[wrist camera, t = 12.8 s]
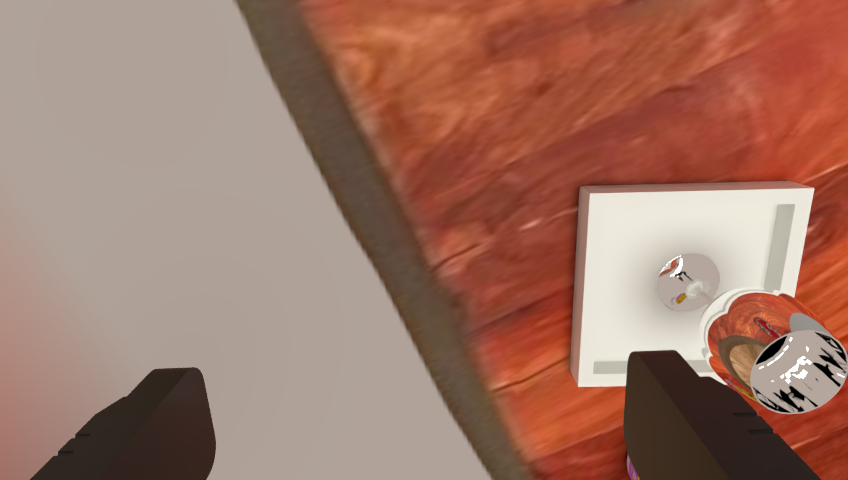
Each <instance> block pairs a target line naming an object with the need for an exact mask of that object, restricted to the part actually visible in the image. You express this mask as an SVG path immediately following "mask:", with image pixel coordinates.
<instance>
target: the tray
mask: <svg viewBox="0 0 848 480" xmlns="http://www.w3.org/2000/svg"><path fill="white" fill-rule="evenodd" d="M813 193H814V188H812V187H809V186H805V185H802V184H798V183H795V182H792V181H761V182H720V183H679V184H638V185H598V186H580V190H579V207H578V225H577V243H576V261H575V279H574V297H573V315H572V333H571V350H570V368H569V369H570V371H571V373H572V375H573V377H574V379H575V382H576V384H577V386H578V387H598V386H626V377H627V363H628V358H629V355H630V353H631V352H633V351H656V350H676V351H677V352H678V353H679V354H680V355H681V356H682V357H683V358H684V359H685V360H686V362H687V363H688V364H689V365H690V366H691V367H692V368H693V370H694V371H695V372H696V373H697V374H698V375H699V376H700V377H704V376H710V377H712V378H714V379H715V380H717V381H719V382H721V383H722V384H724V385H728V384H726V383H725V382H724V381H723V380H722V379H721V378H720V377H719V376H717V375H716V374H715V372H714V371H713V370H712V369H711V368H710V366H709V365H708V363H707V362H706V360H705V359H704V357H703V355H702V353H701V351H700V348H699V345H698V340H697V328H698V323H699V320H700V318H701V315H702V313H703V311H704V310H705V308H706V307H707V306H708V304H706V305H705V306H703V307H702V308H700V309H697V310H695V311H690V312H678V311H674V310H671V309H669V308H667V307H666V306H664V305H663V304H662V303H661V302H660V300H659V298H658V297H657V294H656V289H655V283H656V278H657V275H658V273H659V271H660V269H661V268H662V267H663V265H664V264H665V263H666V262H668V261H669V260H670V259H672V258H673V257H675V256H677V255H680V254H683V253H688V252H695V253H701V254H704V255H706V256H708V257H709V258H711V259H712V260H713V261H714V262H715V263H716V265H717V267H718V269H719V271H720V286H719V289H718V291H717V293H716V295H715V296H714V299H715V298H716V297H717V296H719V295H721V294H722V293H724V292H726V291H728V290H731V289H734V288H738V287H742V286H763V287H769V288H772V289H775V290H778V291H781V292H784V293H786V294H788V295H790V296H792V297H794V296H795V290H796V285H797V279H798V274H799V269H800V263H801V258H802V252H803V247H804V242H805V236H806V231H807V225H808V220H809V215H810V209H811V204H812V198H813Z"/></svg>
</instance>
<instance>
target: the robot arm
mask: <svg viewBox="0 0 848 480" xmlns="http://www.w3.org/2000/svg"><path fill="white" fill-rule="evenodd" d="M75 435H76V436H75V438H74V439H73V438H72V439H70V440H69V441H68V442H67V443H66V444H65V445H64V446H63V447H62V448H61V449H60V450H59V451H58V456H53V457H52V458H51V459H50V460H49V461H48V462H47V463H46V464H45V465H44V466H43V467H42V468H41V469H40V470H39V471H38V472H37V473H36V474H35V475H34V476H33V477H32V478H31V479H30V480H206V479H207V477H208V475H209V473H210V471H211V469H212V466H213V463H214V458H215V450H216V440H215V434H214V428H213V423H212V418H211V413H210V408H209V403H208V398H207V393H206V388H205V383H204V379H203V375H202V373H201V371H200V370H199V369H198V368H194V367H192V368H167V369H155V370H153V371H151V372H150V373H149V374H148V375H147V376H146V377H145V378H144V379H143V381H141V382H140V383H139V384H138V386H137V387H136V388H135V389H134V390H133V391H132V392H131V393H130V394H129V395H128V396H127V397H123V398H121V399H119V400H118V401H116V402H115V403H113V404H111V405H110V406H108V407H107V408H105V409H103V410H102V411H100V412H99V413H97V414H95V416H93V417H92V418H91V420H90V421H88V422H87V424H85V425H84V426H83V427H82V428H81V430H79V432H77V433H76V434H75ZM624 438H625V444H626V449H627V452H628V456H629V458H630V461H631V463H632V465H633V467H634V469H635V471H636V473H637V475H638V477H639V479H640V480H821V479H820V478H819V477H818V476H817V475H816V474H815V473H814V472H813V471H812V470H811V469H810V467H809V466H808V465H807V464H806V463H805V462H804V461H803V460H802V459H801V458H800V457H799V456H798V455H797V454H796V453H795V452H794V451H793V450H792V449H791V448H790V447H789V446H788V445H787V443H786V442H785V441H784V440H783V439H782V438H781V437H780V436H779V435H778V434H774V433H773V429H772V428H771V427H770V426H769V425H768V424H767V423H766V422H765V420H764V419H763V418H762V417H761V416H757V412H756V411H755V410H754V409H753V408H752V407H751V406H750V405H749V404H748V403H747V402H746V401H745V400H744V399H743V397H742V396H741V395H740V394H739V393H738V392H736V391H734V390H733V389H731V388H729V387H727V386H726V385H724V384H722V383H721V382H719V381H717V380H715V379H714V378H712V377H710V376H704V377H700V376H699V375H698V374H697V373H696V372H695V371H694V370H693V368H692V367H691V366H690V365H689V364H688V363H687V362H686V360H685V359H684V358H683V357H682V356H681V355H680V354H679V353H678V352H677V351H676V350H656V351H633V352H631V353H630V355H629V358H628V363H627V377H626V393H625V409H624Z"/></svg>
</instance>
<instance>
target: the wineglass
mask: <svg viewBox="0 0 848 480" xmlns="http://www.w3.org/2000/svg"><path fill="white" fill-rule="evenodd" d="M719 286H720V271H719V269H718V267H717V265H716V263H715V262H714V261H713V260H712V259H711V258H709V257H708V256H706V255H704V254H701V253H695V252H688V253H683V254H680V255H677V256H675V257H673V258H672V259H670V260H669V261H668V262H666V263H665V264H664V265H663V267H662V268H661V269H660V271H659V273H658V275H657V278H656V283H655V289H656V294H657V297H658V298H659V300H660V302H661V303H662V304H663V305H664V306H666V307H667V308H669V309H671V310H674V311H678V312H690V311H695V310H697V309H700V308H702V307H703V306H705V305H706V304H708V306H707V307H706V308H705V310H704V311H703V313H702V315H701V318H700V320H699V323H698V328H697V340H698V345H699V348H700V351H701V353H702V355H703V357H704V359H705V360H706V362H707V363H708V365H709V366H710V368H711V369H712V370H713V371H714V372H715V374H716V375H717V376H719V377H720V378H721V379H722V380H723V381H724V382H725V383H726V384H728V385H729V386H730V387H732V388H733V389H735V390H736V391H737V392H739V393H741V394H742V395H744V396H745V397H747V398H749V399H750V400H752V401H754V402H755V403H757V404H759V405H761V406H763V407H765V408H767V409H769V410H772V411H774V412H777V413H783V414H799V413H804V412H808V411H811V410H814V409H816V408H818V407H820V406H822V405H823V404H825V403H826V402H828V401H829V400H830V399H831V398H833V396H834V395H835V394H836V393H837V392H838V391H839V390H840V388H841V387H842V385H843V384H844V381H845V379H846V377H847V373H848V356H847V353H846V351H845V348H844V347H843V346H842V344H841V343H840V342H839V340H838V339H837V338H836V336H835V335H834V333H833V332H832V331H831V330H830V329H829V328H828V327H827V325H826V324H825V323H824V322H823V321H822V320H821V319H820V318H819V317H818V316H817V315H816V314H815V313H814V312H812V311H811V310H810V309H809V308H808V307H807V306H805V305H804V304H802V303H801V302H800V301H798V300H797V299H795V298H794V297H792V296H790V295H788V294H786V293H784V292H781V291H778V290H775V289H772V288H769V287H763V286H742V287H738V288H734V289H731V290H728V291H726V292H724V293H722V294H721V295H719V296H717V297H716V298H715V299H714V296H715V295H716V293H717V291H718V289H719Z"/></svg>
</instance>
